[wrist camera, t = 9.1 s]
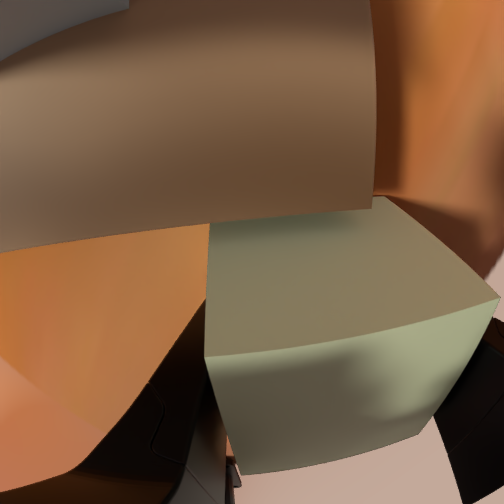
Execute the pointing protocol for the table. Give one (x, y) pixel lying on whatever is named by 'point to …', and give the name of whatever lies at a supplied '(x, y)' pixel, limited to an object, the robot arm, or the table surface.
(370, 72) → the walnut base
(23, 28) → the slate block
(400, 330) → the sage block
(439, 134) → the table surface
